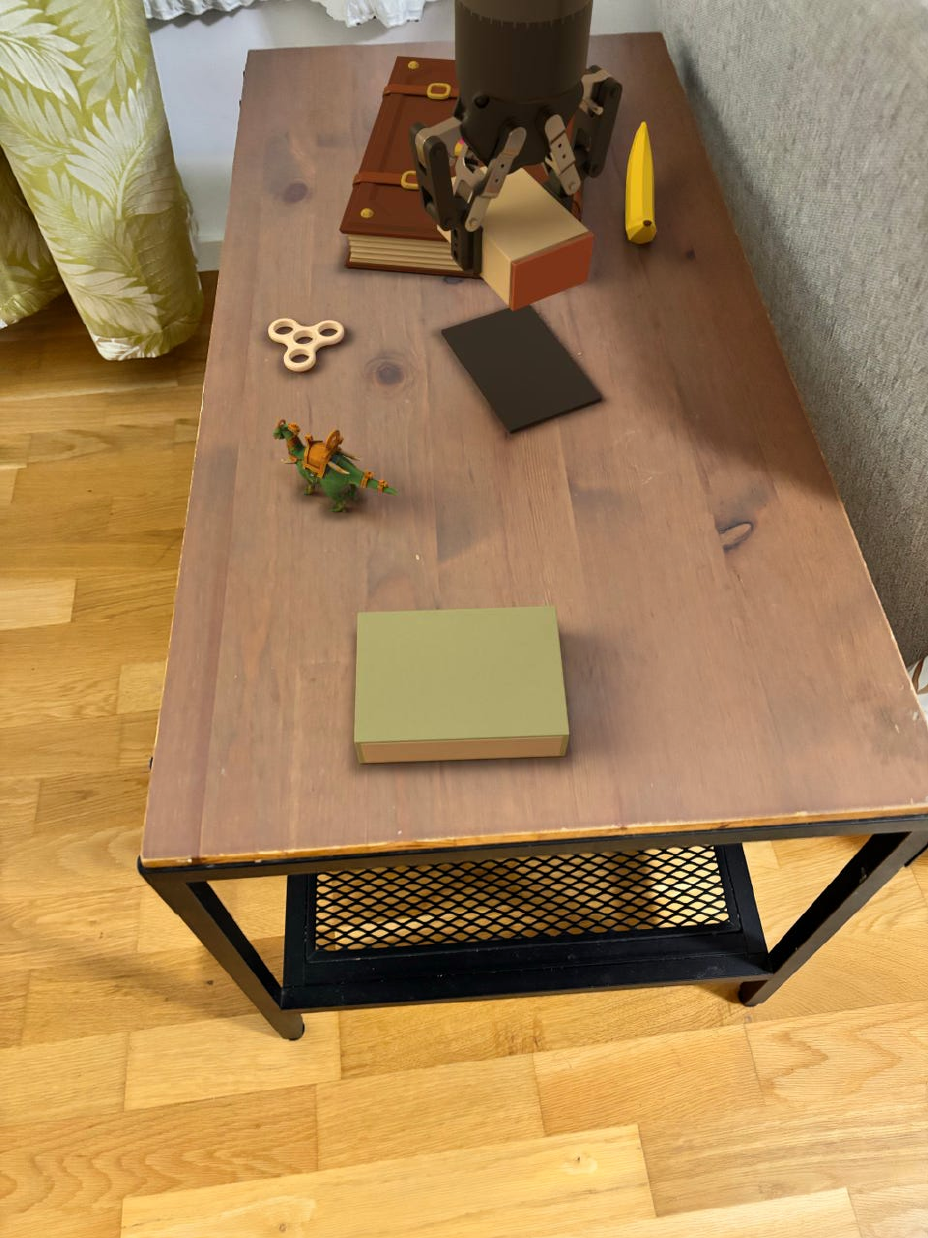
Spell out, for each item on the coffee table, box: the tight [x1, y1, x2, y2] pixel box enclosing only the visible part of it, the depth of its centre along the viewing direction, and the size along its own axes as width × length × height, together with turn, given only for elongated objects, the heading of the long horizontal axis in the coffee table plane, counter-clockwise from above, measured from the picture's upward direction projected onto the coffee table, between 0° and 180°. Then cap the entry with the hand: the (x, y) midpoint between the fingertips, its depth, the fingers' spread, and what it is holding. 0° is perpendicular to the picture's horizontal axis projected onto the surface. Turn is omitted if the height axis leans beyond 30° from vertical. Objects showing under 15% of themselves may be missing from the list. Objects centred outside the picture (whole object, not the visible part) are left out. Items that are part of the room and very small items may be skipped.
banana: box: [624, 121, 658, 245], centre depth 91 cm, size 3×19×6 cm, turn 175°
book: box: [339, 55, 588, 279], centre depth 96 cm, size 23×32×5 cm
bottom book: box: [353, 605, 570, 764], centre depth 64 cm, size 14×10×4 cm
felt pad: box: [440, 304, 603, 434], centre depth 83 cm, size 14×9×1 cm, turn 26°
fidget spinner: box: [267, 317, 345, 372], centre depth 84 cm, size 7×6×1 cm
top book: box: [437, 166, 595, 311], centre depth 62 cm, size 10×6×4 cm, turn 31°
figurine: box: [272, 418, 399, 513], centre depth 71 cm, size 3×12×8 cm, turn 57°
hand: (511, 252), depth 63 cm, fingers closed on top book, 6 cm apart
